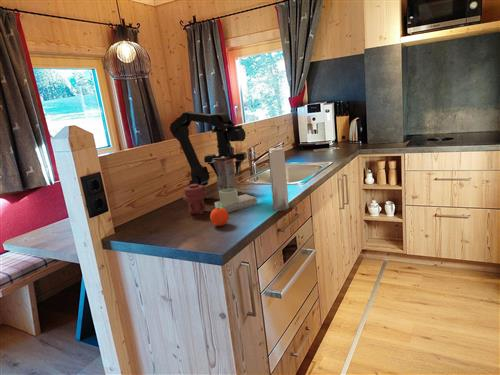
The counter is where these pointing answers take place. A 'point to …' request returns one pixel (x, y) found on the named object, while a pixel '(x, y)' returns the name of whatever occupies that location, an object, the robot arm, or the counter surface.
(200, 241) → the counter surface
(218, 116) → the robot arm
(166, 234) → the counter surface
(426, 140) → the counter surface
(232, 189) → the collar
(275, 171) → the tall grey block
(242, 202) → the beige rectangular block
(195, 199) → the mechanical component
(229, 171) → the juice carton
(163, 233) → the counter surface
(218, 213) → the clementine
